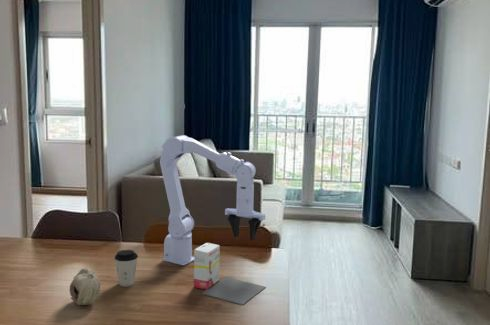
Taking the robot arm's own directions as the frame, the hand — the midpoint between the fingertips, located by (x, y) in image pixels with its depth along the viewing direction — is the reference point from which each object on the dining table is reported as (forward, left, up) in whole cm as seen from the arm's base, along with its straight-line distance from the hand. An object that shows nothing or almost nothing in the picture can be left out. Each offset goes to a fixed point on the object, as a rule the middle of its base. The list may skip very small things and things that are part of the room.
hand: (244, 238), depth 155 cm
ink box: (-3, -18, -11) cm, 21 cm away
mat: (+7, -18, -10) cm, 22 cm away
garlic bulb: (-24, -47, -11) cm, 54 cm away
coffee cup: (-24, -31, -11) cm, 41 cm away
